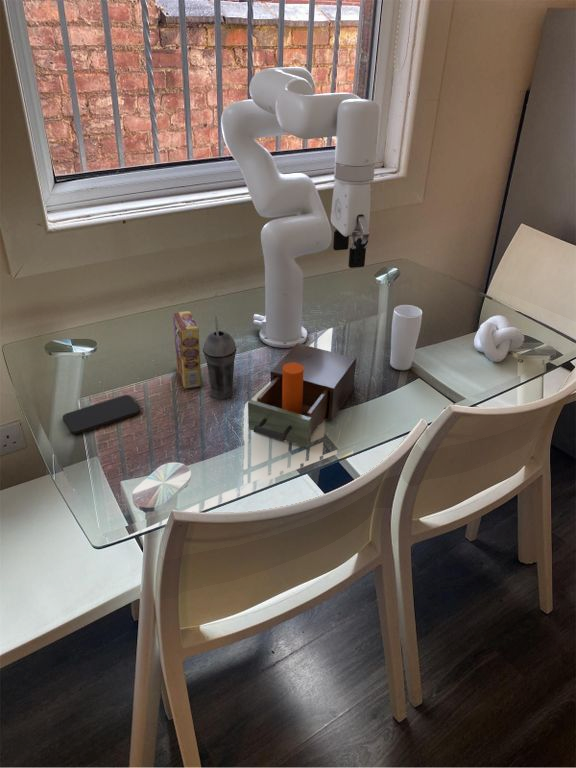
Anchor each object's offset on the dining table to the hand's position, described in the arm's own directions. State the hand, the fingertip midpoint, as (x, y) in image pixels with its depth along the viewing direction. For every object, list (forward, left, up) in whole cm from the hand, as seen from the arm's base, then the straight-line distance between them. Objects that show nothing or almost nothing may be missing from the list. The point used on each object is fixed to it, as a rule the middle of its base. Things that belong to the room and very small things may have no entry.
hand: (348, 257), depth 123 cm
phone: (-41, -34, -31) cm, 62 cm away
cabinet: (-4, -7, -31) cm, 32 cm away
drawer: (-4, -21, -30) cm, 37 cm away
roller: (-4, -18, -29) cm, 35 cm away
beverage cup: (-23, -15, -32) cm, 42 cm away
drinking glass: (+10, +15, -32) cm, 36 cm away
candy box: (-33, -13, -32) cm, 47 cm away
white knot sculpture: (+29, +32, -32) cm, 54 cm away
